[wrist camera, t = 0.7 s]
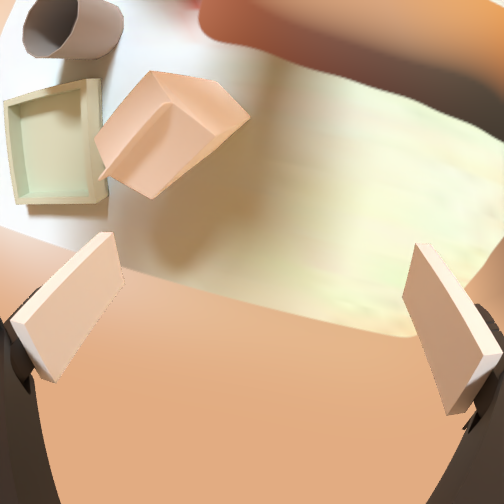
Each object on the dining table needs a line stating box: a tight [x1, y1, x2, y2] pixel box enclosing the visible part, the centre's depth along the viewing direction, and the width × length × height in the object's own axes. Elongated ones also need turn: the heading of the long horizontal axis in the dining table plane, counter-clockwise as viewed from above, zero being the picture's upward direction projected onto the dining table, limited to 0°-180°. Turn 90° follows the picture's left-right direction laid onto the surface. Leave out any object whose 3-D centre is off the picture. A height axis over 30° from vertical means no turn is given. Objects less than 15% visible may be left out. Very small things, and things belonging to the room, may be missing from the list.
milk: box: [94, 71, 251, 199], centre depth 25 cm, size 6×6×22 cm
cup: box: [23, 0, 124, 60], centre depth 26 cm, size 8×8×10 cm
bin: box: [3, 78, 109, 205], centre depth 36 cm, size 16×16×4 cm
